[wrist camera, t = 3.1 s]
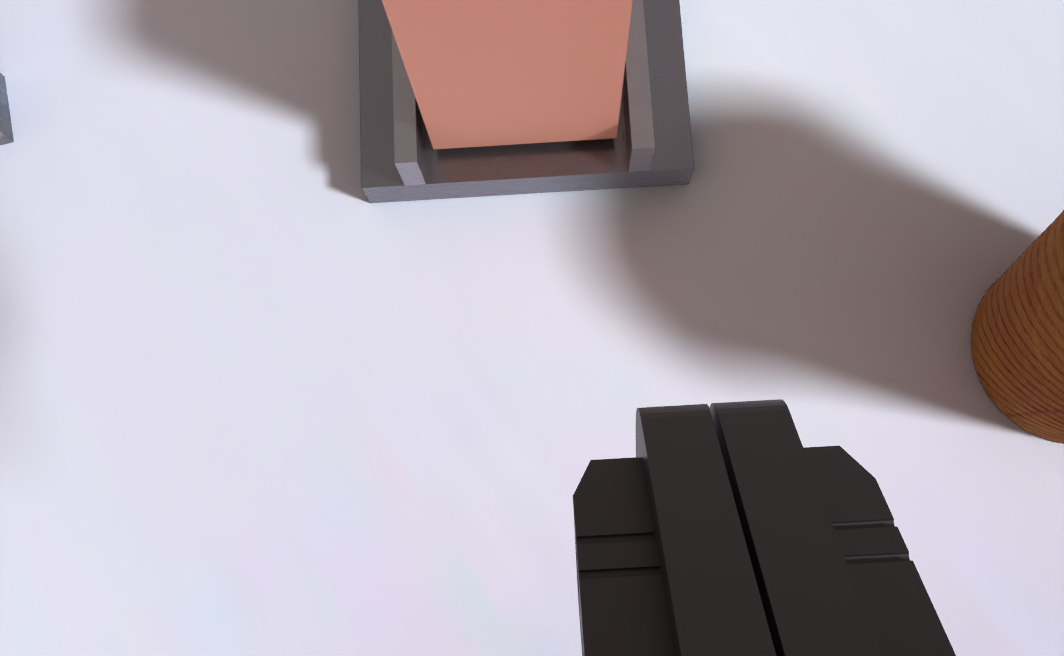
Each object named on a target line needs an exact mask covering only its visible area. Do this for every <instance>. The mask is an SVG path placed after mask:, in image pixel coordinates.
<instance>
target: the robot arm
mask: <svg viewBox="0 0 1064 656" xmlns="http://www.w3.org/2000/svg"><path fill="white" fill-rule="evenodd" d="M573 505H574V525H575V544H576V563H577V583H578V601H579V616H580V630H581V644H582V656H956V655H955V653H954V651H953V648H952V646H951V644H950V642H949V640H948V637H947V635H946V633H945V631H944V629H943V626H942V624H941V622H940V620H939V617H938V615H937V613H936V611H935V609H934V606H933V604H932V602H931V600H930V598H929V595H928V593H927V591H926V589H925V587H924V584H923V582H922V580H921V578H920V576H919V573H918V571H917V569H916V567H915V565H914V562H913V561H910V559H909V551H908V549H907V547H906V545H905V542H904V540H903V538H902V536H901V534H900V531H899V529H898V527H895V526H894V518H893V516H892V514H891V512H890V509H889V507H888V505H887V503H886V501H885V498H884V496H883V494H882V492H881V490H880V487H879V485H878V483H877V481H876V479H875V478H874V477H873V476H872V475H871V474H870V473H869V472H868V471H867V470H865V469H864V468H863V467H862V466H861V465H860V464H859V463H858V462H857V461H856V460H855V459H853V458H852V457H851V456H850V455H849V454H848V453H847V452H846V451H845V450H844V449H842V448H841V447H840V446H826V447H809V448H803V446H802V443H801V441H800V438H799V436H798V433H797V430H796V428H795V425H794V422H793V420H792V417H791V414H790V412H789V409H788V407H787V405H786V403H785V402H784V401H783V400H763V401H746V402H728V403H712V404H711V405H710V408H709V406H708V405H707V404H699V405H681V406H664V407H646V408H637V411H636V458H620V459H602V460H591V461H590V463H589V465H588V467H587V469H586V471H585V473H584V475H583V477H582V479H581V481H580V483H579V485H578V487H577V489H576V491H575V493H574V495H573Z"/></svg>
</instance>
